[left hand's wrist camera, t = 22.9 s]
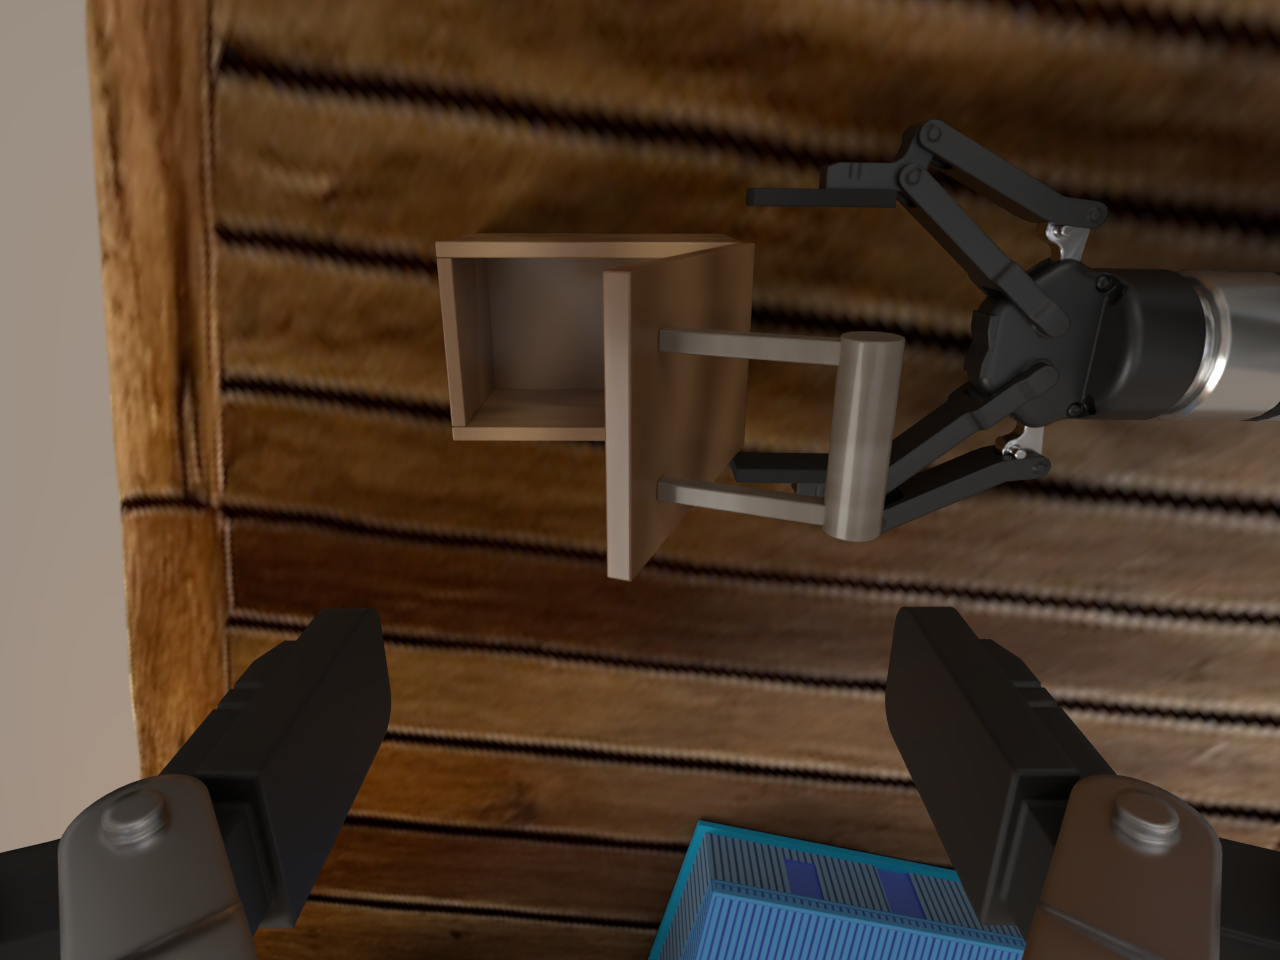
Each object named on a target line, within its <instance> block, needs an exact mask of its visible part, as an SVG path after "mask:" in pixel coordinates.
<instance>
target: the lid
mask: <svg viewBox="0 0 1280 960" xmlns="http://www.w3.org/2000/svg"><path fill="white" fill-rule="evenodd" d="M754 254H755V244H754V243H734V244H729V245H724V246H719V247H714V248H709V249H704V250H700V251H695V252H690V253H685V254H680V255H675V256H670V257H665V258H660V259H656V260H651V261H646V262H641V263H636V264H631V265H626V266H621V267H616V268H612V269H607V270H604V271H603V326H604V392H605V459H606V526H607V576H608V577H609V578H613V579H619V580H624V581H632V580H633V579H634V577H635V576H636V575H637V574H638V572H639V571H640V570H641V569H642V568H643V566H644V565H645V564H646V563H647V562H648V560H649V559H650V558H651V557H652V556H653V554H654V553H655V552H656V551H657V550H658V548H659V547H660V546H661V545H662V543H663V542H664V541H665V540H666V539H667V537H668V536H669V535H670V534H671V533H672V531H673V530H674V529H675V528H676V527H677V525H678V524H679V523H680V522H681V520H682V519H683V518H684V517H685V516H686V514H687V513H688V512H689V511H690V510H691V508H692V507H693V506H695V507H702V508H709V509H716V510H722V511H729V512H736V513H743V514H749V515H756V516H763V517H769V518H776V519H783V520H790V521H796V522H803V523H810V524H817V525H822V529H823V531H824V532H825V533H826V534H828V535H830V536H832V537H834V538H837V539H840V540H845V541H851V542H865V541H871V540H874V539H876V538H877V537H878V536H879V535H880V533H881V525H882V517H883V509H884V502H885V494H886V486H887V478H888V471H889V463H890V455H891V447H892V440H893V432H894V424H895V417H896V409H897V401H898V393H899V386H900V378H901V370H902V362H903V355H904V347H905V338H904V337H902V336H900V335H897V334H892V333H885V332H872V331H857V332H848V333H844V334H842V335H841V336H840V338H836V337H820V336H805V335H789V334H773V333H758V332H750V327H751V309H752V291H753V272H754ZM749 359H757V360H770V361H783V362H796V363H809V364H823V365H836V366H837V375H836V385H835V395H834V406H833V416H832V426H831V436H830V446H829V457H828V467H827V477H826V487H825V497H824V498H823V497H815V496H808V495H801V494H793V493H786V492H779V491H771V490H764V489H757V488H749V487H742V486H735V485H727V484H720V483H713V482H714V481H715V479H716V478H717V477H718V476H719V475H720V473H721V472H722V471H723V470H724V469H725V467H726V466H727V465H728V464H729V462H730V461H731V460H732V459H733V458H734V456H735V455H736V454H737V453H738V452H739V450H740V449H741V448H742V447H743V446H744V436H745V418H746V400H747V382H748V363H749Z"/></svg>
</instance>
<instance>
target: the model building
mask: <svg viewBox="0 0 1280 960" xmlns="http://www.w3.org/2000/svg"><path fill="white" fill-rule="evenodd" d="M1025 946H1026V943H1025V941H1024V939H1023V937H1022V935H1021V933H1020V931H1019V929H1018V927H1017V926H1016V925H981V924H980V922H979V919H978V917H977V915H976V913H975V911H974V909H973V907H972V905H971V902H970V900H969V898H968V896H967V894H966V892H965V890H964V888H963V885H962V883H961V881H960V879H959V877H958V875H957V873H956V871H955V870H950V869H945V868H940V867H935V866H930V865H925V864H920V863H915V862H910V861H905V860H900V859H895V858H890V857H885V856H879V855H874V854H869V853H864V852H859V851H854V850H849V849H844V848H839V847H834V846H829V845H824V844H819V843H814V842H809V841H803V840H798V839H793V838H788V837H783V836H778V835H773V834H768V833H763V832H758V831H753V830H748V829H743V828H738V827H733V826H727V825H722V824H717V823H712V822H707V821H702V820H699V821H698V823H697V826H696V829H695V832H694V834H693V837H692V840H691V843H690V845H689V848H688V851H687V854H686V856H685V859H684V862H683V864H682V867H681V870H680V873H679V875H678V878H677V881H676V884H675V886H674V889H673V892H672V895H671V897H670V900H669V903H668V906H667V908H666V911H665V914H664V917H663V919H662V922H661V925H660V927H659V930H658V933H657V936H656V938H655V941H654V944H653V947H652V949H651V952H650V955H649V958H648V960H1021V959H1022V956H1023V953H1024V949H1025Z"/></svg>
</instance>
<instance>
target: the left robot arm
mask: <svg viewBox="0 0 1280 960" xmlns="http://www.w3.org/2000/svg"><path fill="white" fill-rule="evenodd" d="M885 707H886V716H887V721H888V725H889V729H890V732H891V734H892V737H893V739H894V741H895V743H896V745H897V747H898V749H899V751H900V754H901V756H902V758H903V760H904V762H905V764H906V766H907V768H908V771H909V773H910V775H911V777H912V779H913V781H914V783H915V785H916V788H917V790H918V792H919V794H920V796H921V798H922V800H923V802H924V805H925V807H926V809H927V811H928V813H929V815H930V817H931V819H932V822H933V824H934V826H935V828H936V830H937V832H938V834H939V837H940V839H941V841H942V843H943V845H944V847H945V849H946V851H947V854H948V856H949V858H950V860H951V862H952V864H953V866H954V868H955V871H956V873H957V875H958V877H959V879H960V881H961V883H962V885H963V888H964V890H965V892H966V894H967V896H968V898H969V900H970V902H971V905H972V907H973V909H974V911H975V913H976V915H977V917H978V919H979V922H980V924H981V925H1016V926H1017V927H1018V929H1019V931H1020V933H1021V935H1022V937H1023V939H1024V941H1025V943H1026V946H1025V949H1024V953H1023V956H1022V959H1021V960H1280V852H1279V851H1274V850H1270V849H1266V848H1261V847H1257V846H1253V845H1249V844H1244V843H1240V842H1236V841H1231V840H1227V839H1223V838H1219V837H1218V835H1217V834H1216V832H1215V830H1214V829H1213V827H1212V826H1211V825H1210V824H1209V823H1208V821H1207V820H1206V819H1205V818H1204V817H1203V816H1202V815H1201V814H1200V813H1199V812H1197V811H1196V810H1195V809H1194V808H1193V807H1191V806H1190V805H1189V804H1187V803H1186V802H1185V801H1183V800H1181V799H1180V798H1178V797H1177V796H1175V795H1173V794H1171V793H1170V792H1168V791H1166V790H1164V789H1162V788H1160V787H1157V786H1155V785H1152V784H1150V783H1147V782H1144V781H1141V780H1138V779H1135V778H1131V777H1126V776H1120V775H1117V774H1116V773H1115V772H1114V771H1113V770H1112V768H1111V767H1110V766H1109V765H1108V764H1107V762H1106V761H1105V760H1104V759H1103V758H1102V756H1101V755H1100V754H1099V753H1098V751H1097V750H1096V749H1095V748H1094V747H1093V745H1092V744H1091V743H1090V742H1089V741H1088V739H1087V738H1086V737H1085V736H1084V735H1083V733H1082V732H1081V731H1080V730H1079V729H1078V727H1077V726H1076V725H1075V724H1074V723H1073V721H1072V720H1071V719H1070V718H1069V716H1068V715H1067V714H1066V713H1065V712H1064V710H1063V709H1062V708H1058V707H1057V702H1056V701H1055V700H1054V698H1053V697H1052V696H1051V695H1050V694H1049V692H1048V691H1047V690H1046V689H1045V688H1041V683H1040V681H1039V680H1038V679H1037V678H1036V677H1035V675H1034V674H1033V673H1032V672H1031V671H1030V669H1029V668H1028V667H1027V666H1026V665H1025V663H1024V662H1023V661H1022V660H1021V659H1020V658H1018V657H1017V656H1015V655H1014V654H1012V653H1011V652H1009V651H1008V650H1006V649H1005V648H1003V647H1002V646H1000V645H999V644H997V643H996V642H994V641H993V640H991V639H978V637H977V636H976V635H975V633H974V632H973V631H972V630H971V628H970V627H969V626H968V624H967V623H966V622H965V621H964V619H963V618H962V617H961V615H960V614H959V613H958V611H957V610H956V609H954V608H953V607H902V608H901V609H900V610H899V611H898V614H897V617H896V621H895V627H894V635H893V642H892V649H891V656H890V663H889V670H888V677H887V684H886V692H885ZM390 712H391V691H390V684H389V677H388V670H387V663H386V656H385V649H384V642H383V635H382V628H381V622H380V618H379V615H378V612H377V611H376V610H375V609H374V608H324V609H322V610H320V611H319V612H318V614H317V615H316V616H315V617H314V619H313V620H312V621H311V623H310V624H309V625H308V626H307V628H306V629H305V630H304V632H303V633H302V634H301V635H300V637H299V638H298V639H297V641H284V642H282V643H281V644H279V645H278V646H276V647H274V648H273V649H271V650H270V651H268V652H267V653H265V654H264V655H262V656H261V657H259V658H258V659H256V660H255V661H254V662H253V663H252V664H251V665H250V666H249V668H248V669H247V670H246V671H245V672H244V674H243V675H242V676H241V677H240V678H239V680H238V681H237V682H236V683H235V684H234V689H230V690H229V692H228V693H227V694H226V695H225V696H224V697H223V699H222V700H221V701H220V702H219V703H218V708H217V709H213V711H212V712H211V713H210V714H209V715H208V717H207V718H206V719H205V720H204V721H203V723H202V724H201V725H200V726H199V727H198V729H197V730H196V731H195V732H194V733H193V735H192V736H191V737H190V738H189V739H188V741H187V742H186V743H185V744H184V745H183V747H182V748H181V749H180V750H179V751H178V753H177V754H176V755H175V756H174V757H173V758H172V760H171V761H170V762H169V763H168V764H167V766H166V767H165V768H164V769H163V770H162V772H161V773H160V774H159V775H158V776H154V777H149V778H145V779H142V780H139V781H136V782H133V783H130V784H128V785H125V786H123V787H120V788H118V789H116V790H114V791H112V792H111V793H109V794H107V795H105V796H104V797H102V798H100V799H99V800H97V801H96V802H94V803H93V804H91V805H90V806H89V807H87V808H86V809H85V810H84V811H83V812H81V813H80V814H79V815H78V816H77V817H76V818H75V819H74V820H73V821H72V823H71V824H70V825H69V826H68V827H67V829H66V830H65V832H64V834H63V835H62V837H61V839H57V840H53V841H50V842H45V843H41V844H37V845H33V846H28V847H24V848H20V849H15V850H11V851H6V852H3V853H0V960H259V959H258V956H257V953H256V949H255V946H254V942H253V939H252V938H253V936H254V934H255V932H256V930H257V929H258V928H294V925H295V923H296V921H297V919H298V917H299V915H300V913H301V911H302V909H303V907H304V904H305V902H306V900H307V898H308V896H309V894H310V892H311V890H312V888H313V886H314V883H315V881H316V879H317V877H318V875H319V873H320V871H321V869H322V867H323V864H324V862H325V860H326V858H327V856H328V854H329V852H330V850H331V848H332V846H333V843H334V841H335V839H336V837H337V835H338V833H339V831H340V829H341V827H342V825H343V822H344V820H345V818H346V816H347V814H348V812H349V810H350V808H351V806H352V804H353V801H354V799H355V797H356V795H357V793H358V791H359V789H360V787H361V785H362V783H363V780H364V778H365V776H366V774H367V772H368V770H369V768H370V766H371V764H372V762H373V759H374V757H375V755H376V753H377V751H378V749H379V747H380V745H381V743H382V740H383V738H384V736H385V734H386V731H387V728H388V724H389V719H390Z"/></svg>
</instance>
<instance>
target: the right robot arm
mask: <svg viewBox="0 0 1280 960" xmlns="http://www.w3.org/2000/svg"><path fill="white" fill-rule="evenodd" d="M929 164H931V165H932V166H934V167H936V168H937V169H939V170H941V171H942V172H944V173H946V174H947V175H949V176H951V177H952V178H954V179H956V180H957V181H959V182H960V183H962V184H964V185H965V186H967V187H969V188H970V189H972V190H974V191H975V192H977V193H979V194H980V195H982V196H984V197H985V198H987V199H989V200H990V201H992V202H994V203H995V204H997V205H999V206H1000V207H1002V208H1004V209H1005V210H1007V211H1009V212H1010V213H1012V214H1013V215H1015V216H1017V217H1019V218H1021V219H1023V220H1026V221H1029V222H1033V223H1038V224H1039V225H1038V226H1037V228H1036V231H1037V234H1038V237H1039V238H1040V239H1041V240H1042V241H1044V242H1046V243H1048V244H1049V245H1050V247H1051V251H1052V254H1051V258H1048V259H1045V260H1043V261H1042V262H1040V263H1038V264H1037V265H1035V266H1034V267H1032V268H1031V269H1029V270H1028V271H1026V272H1025V271H1024V270H1023V269H1022V268H1021V267H1020V266H1019V265H1018V264H1017V263H1015V262H1013V261H1012V260H1010V259H1009V258H1008V257H1007V256H1006V255H1005V254H1004V253H1003V252H1002V251H1001V250H1000V248H999V247H998V246H997V245H996V244H995V243H994V242H993V241H992V240H991V239H990V238H989V237H988V236H987V235H986V233H985V232H984V231H983V230H982V229H981V228H980V227H979V226H978V225H977V224H976V223H975V222H974V221H973V220H972V218H971V217H970V216H969V215H968V214H967V213H966V212H965V211H964V210H963V209H962V208H961V207H960V206H959V205H958V203H957V202H956V201H955V200H954V199H953V198H952V197H951V196H950V195H949V194H948V193H947V192H946V191H945V190H944V188H943V187H942V186H941V185H940V184H939V183H938V182H937V181H936V180H935V179H934V178H933V177H932V176H931V175H930V173H929V172H928V171H927V168H928V166H929ZM896 199H897V200H898V201H899V202H900V203H901V204H902V205H903V206H904V207H905V208H906V209H907V210H908V211H909V212H910V214H911V215H912V216H913V217H914V218H915V219H916V220H917V221H918V222H919V223H920V224H921V225H922V226H923V227H924V228H925V229H926V230H927V231H928V232H929V233H930V234H931V235H932V236H933V238H934V239H935V240H936V241H937V242H938V243H939V244H940V245H941V246H942V247H943V248H944V249H945V250H946V251H947V252H948V253H949V254H950V255H951V256H952V257H953V258H954V259H955V260H956V261H957V263H958V264H959V265H960V266H961V267H962V268H963V269H964V270H965V271H966V272H967V273H968V275H969V278H970V279H971V280H972V281H973V282H974V284H975V285H976V286H977V287H978V288H979V289H980V290H981V291H982V292H983V293H984V294H985V295H986V296H987V298H986V299H985V300H984V301H983V302H982V304H981V305H980V307H979V309H978V310H973V316H972V322H971V330H972V342H971V345H970V347H969V349H968V351H967V354H966V357H965V363H964V369H963V370H965V371H967V373H968V377H969V381H968V382H966V383H965V384H964V385H962V386H961V387H959V388H958V389H957V390H955V391H954V392H953V393H951V394H950V396H949V398H948V400H947V401H946V402H945V403H944V404H943V405H941V406H940V407H938V408H937V409H936V410H934V411H933V412H931V413H930V414H929V415H927V416H926V417H924V418H923V419H922V420H920V421H919V422H917V423H916V424H915V425H913V426H912V427H910V428H909V429H908V430H906V431H905V432H903V433H902V434H901V435H899V436H898V437H896V438H895V439H894V440H892V447H891V455H890V463H889V471H888V478H887V486H886V494H885V502H884V509H883V517H882V525H881V533H883V532H886V531H888V530H890V529H893V528H895V527H898V526H900V525H902V524H905V523H907V522H910V521H912V520H914V519H917V518H919V517H922V516H924V515H927V514H929V513H931V512H934V511H936V510H939V509H941V508H943V507H946V506H948V505H951V504H953V503H955V502H958V501H960V500H963V499H965V498H967V497H970V496H972V495H975V494H977V493H979V492H982V491H984V490H987V489H989V488H991V487H994V486H996V485H999V484H1001V483H1003V482H1006V481H1015V480H1026V479H1037V478H1042V477H1044V476H1045V475H1047V474H1048V472H1049V471H1050V468H1051V463H1050V461H1049V460H1048V459H1047V458H1045V457H1044V456H1042V444H1043V434H1044V426H1046V425H1048V424H1050V423H1053V422H1055V421H1058V420H1062V419H1106V420H1147V419H1152V418H1155V419H1157V420H1168V421H1234V420H1241V421H1280V272H1271V271H1224V270H1180V271H1177V272H1174V271H1171V270H1165V269H1104V268H1089V267H1087V266H1085V265H1084V264H1083V263H1081V262H1080V260H1081V257H1082V254H1083V251H1084V248H1085V244H1086V241H1087V238H1088V235H1089V232H1090V229H1095V228H1097V227H1100V226H1101V225H1102V224H1103V223H1104V222H1105V220H1106V218H1107V214H1108V210H1107V207H1106V206H1105V204H1104V203H1101V202H1098V201H1091V200H1084V199H1077V198H1070V197H1064V196H1062V195H1061V194H1059V193H1057V192H1056V191H1054V190H1052V189H1051V188H1049V187H1048V186H1046V185H1044V184H1043V183H1041V182H1039V181H1038V180H1036V179H1035V178H1033V177H1031V176H1030V175H1028V174H1026V173H1025V172H1023V171H1022V170H1020V169H1018V168H1017V167H1015V166H1014V165H1012V164H1010V163H1009V162H1007V161H1005V160H1004V159H1002V158H1001V157H999V156H997V155H996V154H994V153H992V152H991V151H989V150H988V149H986V148H984V147H983V146H981V145H979V144H978V143H976V142H975V141H973V140H971V139H970V138H968V137H967V136H965V135H963V134H962V133H960V132H958V131H957V130H955V129H954V128H952V127H950V126H949V125H947V124H945V123H944V122H942V121H940V120H937V119H934V120H929V121H925V122H922V123H918V124H914V125H912V126H910V127H908V128H907V129H906V130H905V132H904V134H903V136H902V144H901V147H900V149H899V151H898V153H897V155H896V156H895V157H894V159H893V160H891V161H890V162H888V163H851V162H838V163H833V164H830V165H827V166H825V167H822V168H821V173H820V183H819V189H786V188H751V189H747V197H746V205H752V206H817V207H887V208H895V206H896ZM984 399H985V400H984ZM1008 415H1009V416H1010V417H1011V418H1012V419H1014V420H1016V421H1017V425H1016V428H1015V429H1014V430H1013V431H1012V432H1011V433H1009V434H1007V435H1004V436H999V437H998V438H997V439H996V440H995V444H996V445H992V446H986V447H982V448H979V449H976V450H973V451H971V452H968V453H966V454H964V455H961V456H959V457H957V458H954V459H952V460H950V461H947V462H945V463H943V464H940V465H938V466H935V467H933V468H931V469H928V470H926V471H924V472H921V473H919V474H917V475H915V474H916V473H918V472H919V471H921V470H922V469H923V468H925V467H926V466H928V465H929V464H931V463H932V462H933V461H935V460H936V459H938V458H939V457H941V456H942V455H943V454H945V453H946V452H948V451H949V450H951V449H952V448H953V447H955V446H956V445H958V444H959V443H961V442H962V441H964V440H965V439H966V438H968V437H969V436H971V435H972V434H974V433H975V432H977V431H979V430H985V429H988V428H990V427H992V426H993V425H995V424H996V423H998V422H999V421H1001V420H1002V419H1003V418H1005V417H1006V416H1008ZM828 457H829V454H825V453H744V452H738V453H737V454H736V455H735V456H734V458H733V459H732V460H731V464H730V465H731V468H732V471H733V474H734V477H735V480H736V482H748V483H792V488H793V490H794V492H795V493H796V494H801V495H808V496H815V497H823V498H824V497H825V487H826V477H827V467H828ZM913 475H914V476H913Z"/></svg>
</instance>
